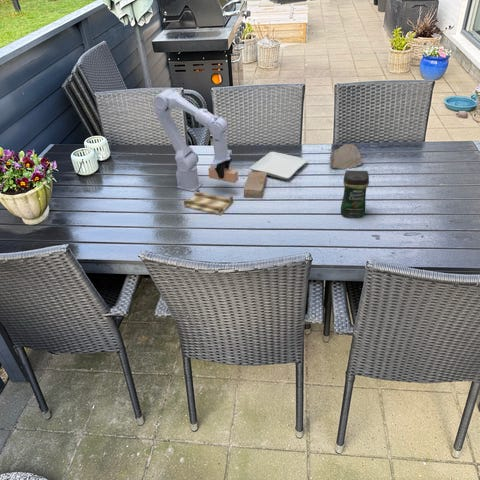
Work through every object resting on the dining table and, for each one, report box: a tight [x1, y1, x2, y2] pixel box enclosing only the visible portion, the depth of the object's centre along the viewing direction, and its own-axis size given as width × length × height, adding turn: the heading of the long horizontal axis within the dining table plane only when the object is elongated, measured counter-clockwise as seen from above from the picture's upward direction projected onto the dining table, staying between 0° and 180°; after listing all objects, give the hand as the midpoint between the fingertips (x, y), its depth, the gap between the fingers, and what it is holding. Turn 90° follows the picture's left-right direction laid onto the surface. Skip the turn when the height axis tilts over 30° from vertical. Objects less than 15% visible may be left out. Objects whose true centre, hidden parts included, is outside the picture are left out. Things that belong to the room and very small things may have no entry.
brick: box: [243, 171, 268, 199], centre depth 200 cm, size 16×8×5 cm, turn 170°
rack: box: [183, 188, 234, 216], centre depth 192 cm, size 18×11×3 cm, turn 63°
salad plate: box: [249, 151, 309, 180], centre depth 215 cm, size 21×21×3 cm
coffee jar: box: [340, 170, 370, 218], centre depth 175 cm, size 10×8×19 cm
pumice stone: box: [329, 143, 364, 170], centre depth 211 cm, size 15×8×10 cm, turn 90°
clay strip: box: [207, 166, 239, 184], centre depth 196 cm, size 13×3×4 cm, turn 61°
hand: (223, 175), depth 196 cm, fingers closed on clay strip, 3 cm apart
